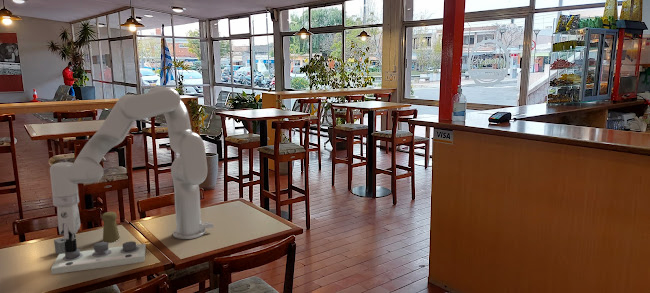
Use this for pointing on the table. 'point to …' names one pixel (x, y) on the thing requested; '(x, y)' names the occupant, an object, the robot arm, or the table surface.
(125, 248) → the button
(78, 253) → the button
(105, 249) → the middle button
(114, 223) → the cork
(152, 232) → the table surface
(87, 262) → the button board
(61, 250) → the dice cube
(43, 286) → the table surface
